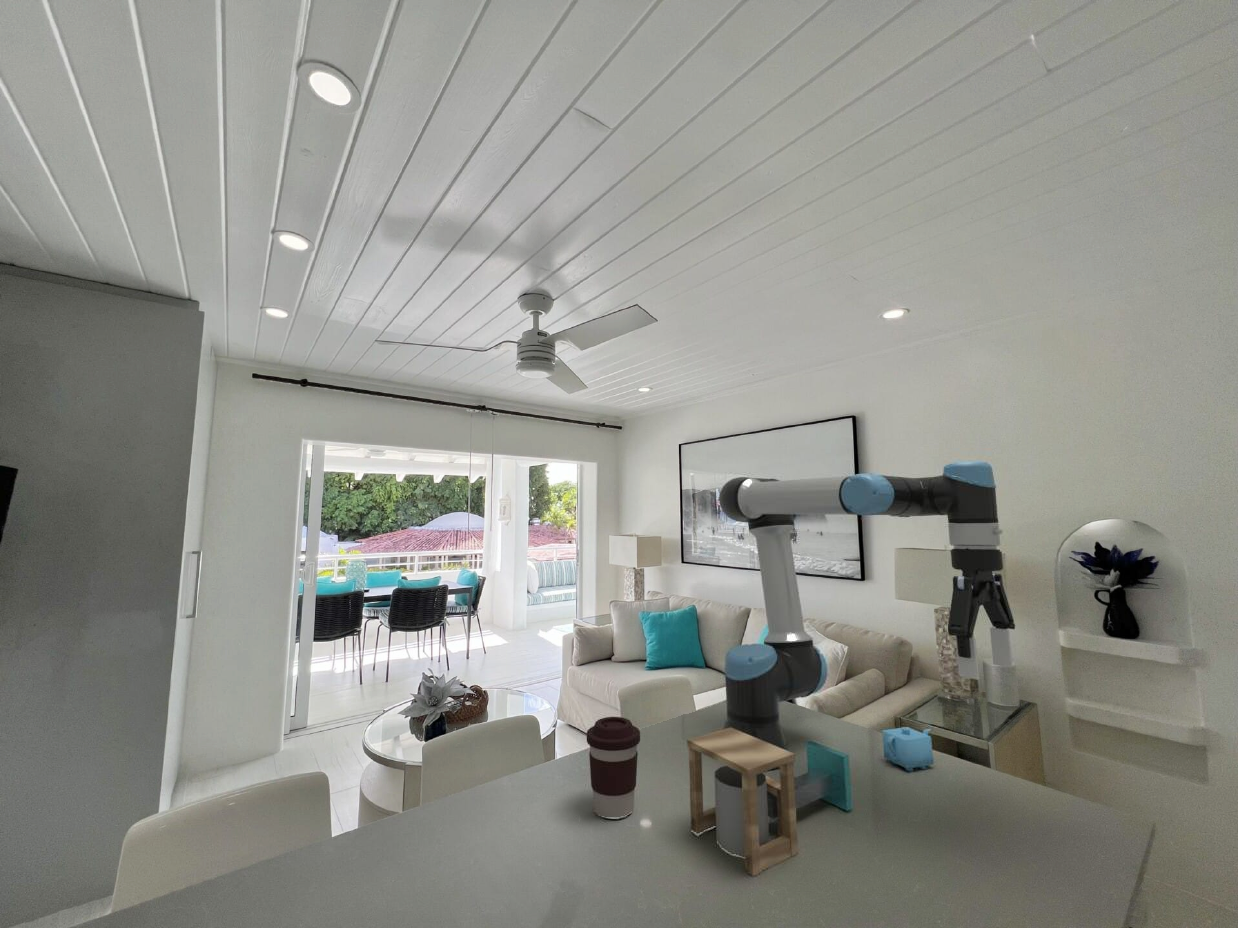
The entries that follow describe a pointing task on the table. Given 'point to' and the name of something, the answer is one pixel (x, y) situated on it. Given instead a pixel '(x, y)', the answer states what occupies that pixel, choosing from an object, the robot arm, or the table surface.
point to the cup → (737, 810)
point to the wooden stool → (748, 791)
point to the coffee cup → (613, 765)
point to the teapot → (908, 747)
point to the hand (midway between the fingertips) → (986, 671)
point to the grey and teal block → (820, 780)
